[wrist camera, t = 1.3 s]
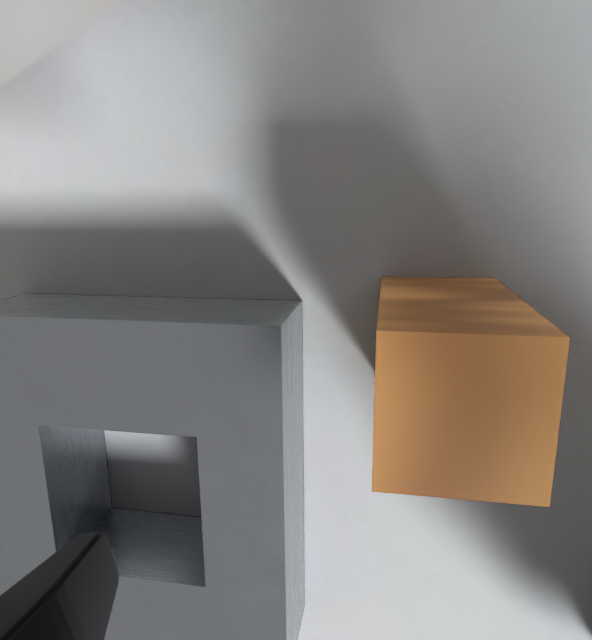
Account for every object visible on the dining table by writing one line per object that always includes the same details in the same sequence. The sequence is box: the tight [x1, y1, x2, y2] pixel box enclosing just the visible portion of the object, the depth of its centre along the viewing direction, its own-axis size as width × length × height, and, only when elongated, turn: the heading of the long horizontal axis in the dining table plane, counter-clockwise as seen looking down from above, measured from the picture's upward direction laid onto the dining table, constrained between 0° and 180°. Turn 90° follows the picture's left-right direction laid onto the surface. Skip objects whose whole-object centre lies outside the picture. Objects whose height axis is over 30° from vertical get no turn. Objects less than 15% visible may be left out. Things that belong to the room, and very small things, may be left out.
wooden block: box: [372, 276, 570, 507], centre depth 15 cm, size 4×4×8 cm
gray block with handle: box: [0, 294, 305, 640], centre depth 21 cm, size 20×14×4 cm
